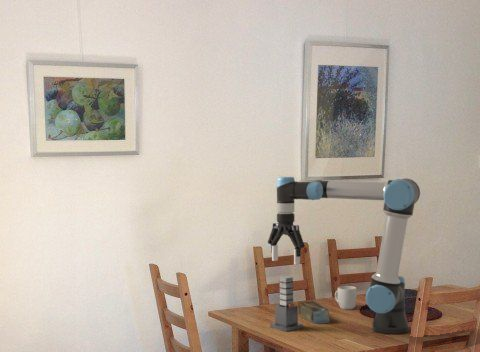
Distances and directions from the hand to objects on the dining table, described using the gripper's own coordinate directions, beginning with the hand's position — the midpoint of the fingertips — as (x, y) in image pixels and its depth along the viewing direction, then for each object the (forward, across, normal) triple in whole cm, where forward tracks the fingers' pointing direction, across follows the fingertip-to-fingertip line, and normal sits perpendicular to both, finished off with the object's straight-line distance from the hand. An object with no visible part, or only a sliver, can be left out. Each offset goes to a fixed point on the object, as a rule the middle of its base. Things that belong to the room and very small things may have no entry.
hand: (285, 262), depth 307 cm
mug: (+28, +10, -48) cm, 57 cm away
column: (+26, 0, 0) cm, 26 cm away
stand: (+28, 0, 0) cm, 28 cm away
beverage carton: (+28, +4, -21) cm, 35 cm away
